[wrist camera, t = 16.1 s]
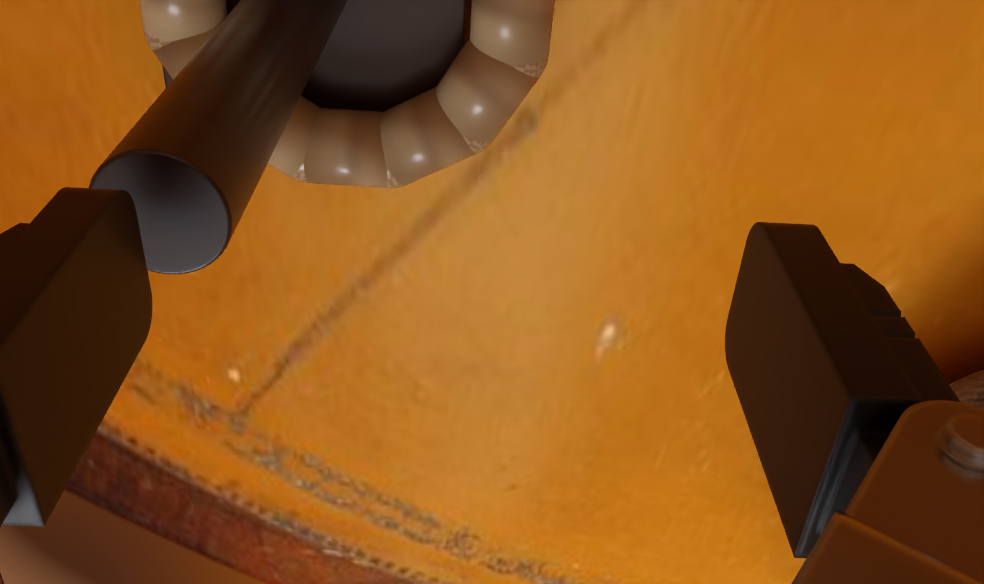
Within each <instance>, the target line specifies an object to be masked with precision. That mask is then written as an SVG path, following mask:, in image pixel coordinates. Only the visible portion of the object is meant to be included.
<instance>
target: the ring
mask: <svg viewBox="0 0 984 584" xmlns="http://www.w3.org/2000/svg"><path fill="white" fill-rule="evenodd" d="M554 2H555V0H472V9H471V26H470V37H469V39H468V40H467V42H466V43H465V45H464V46H463V48H462V49H461V51H460V52H459V54H458V55H457V57H456V58H455V60H454V61H453V63H452V64H451V66H450V67H449V69H448V70H447V72H446V73H445V75H444V76H443V78H442V79H441V81H440V82H439V84H438V85H437V87H435V88H432V89H430V90H428V91H426V92H424V93H422V94H420V95H418V96H416V97H413V98H411V99H409V100H407V101H405V102H403V103H401V104H399V105H396V106H394V107H392V108H390V109H388V110H386V111H384V112H377V111H362V110H348V109H334V108H321V107H319V106H317V105H316V104H314V103H312V102H311V101H309V100H307V99H306V98H304V97H302V96H300V98H299V100H298V102H297V104H296V107H295V109H294V111H293V113H292V115H291V117H290V119H289V121H288V123H287V125H286V127H285V129H284V131H283V133H282V135H281V137H280V139H279V141H278V143H277V145H276V147H275V149H274V151H273V153H272V155H271V157H270V159H269V162H268V165H270V166H272V167H274V168H275V169H277V170H279V171H281V172H282V173H284V174H286V175H288V176H289V177H291V178H293V179H296V180H298V181H301V182H306V183H319V184H334V185H349V186H364V187H379V188H398V187H402V186H405V185H408V184H410V183H412V182H414V181H417V180H419V179H421V178H423V177H426V176H428V175H430V174H432V173H435V172H437V171H439V170H441V169H443V168H446V167H448V166H450V165H452V164H455V163H457V162H459V161H461V160H464V159H466V158H468V157H470V156H473V155H475V154H477V153H479V152H481V151H483V150H484V149H485V148H487V147H488V146H489V145H490V144H491V142H492V141H493V140H494V139H495V137H496V136H497V135H498V133H499V132H500V131H501V129H502V128H503V127H504V125H505V124H506V122H507V121H508V120H509V118H510V117H511V116H512V114H513V113H514V112H515V110H516V109H517V107H518V106H519V105H520V103H521V102H522V101H523V99H524V98H525V97H526V95H527V94H528V92H529V91H530V90H531V88H532V87H533V86H534V84H535V83H536V81H537V80H538V79H539V77H540V76H541V74H542V73H543V71H544V69H545V67H546V65H547V61H548V56H549V48H550V39H551V29H552V20H553V11H554ZM140 7H141V14H142V21H143V28H144V34H145V37H146V39H147V42H148V44H149V46H150V47H151V49H152V50H153V52H154V53H155V55H156V56H157V57H158V59H159V60H160V62H161V63H162V65H163V66H164V67H165V69H166V70H167V72H168V73H169V75H170V76H171V77H172V79H173V80H174V78H175V77H176V76H177V75H178V74H179V72H180V71H181V70H182V69H183V68H184V67H185V65H186V64H187V63H188V62H189V61H190V59H191V58H192V57H193V56H194V55H195V54H196V52H197V51H198V50H199V49H200V48H201V46H202V45H203V44H204V43H205V42H206V41H207V39H208V38H209V37H210V36H211V35H212V33H213V32H214V31H215V30H216V29H217V28H218V26H219V25H220V24H221V23H222V22H223V21H224V19H225V18H226V17H227V16H228V15H227V4H226V0H140Z"/></svg>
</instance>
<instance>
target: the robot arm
mask: <svg viewBox="0 0 984 584" xmlns="http://www.w3.org/2000/svg"><path fill="white" fill-rule="evenodd" d="M151 318H152V293H151V287H150V282H149V277H148V271H147V266H146V261H145V255H144V250H143V245H142V239H141V234H140V229H139V223H138V218H137V213H136V208H135V204H134V201H133V199H132V197H131V195H130V194H129V193H128V192H127V191H125V190H112V189H91V188H70V187H66V188H62V189H61V190H60V191H58V192H57V194H56V195H55V196H54V197H53V198H52V199H51V200H50V201H49V203H48V204H47V205H46V206H45V207H44V208H43V209H42V211H41V212H40V213H39V214H38V215H37V216H36V217H35V218H34V220H33V221H32V222H31V223H30V224H28V223H19V224H18V225H16V226H14V227H12V228H10V229H8V230H7V231H5V232H3V233H1V234H0V527H1V525H23V526H45V524H46V522H47V520H48V518H49V516H50V515H51V513H52V511H53V509H54V507H55V506H56V504H57V502H58V500H59V498H60V496H61V495H62V493H63V491H64V489H65V487H66V485H67V484H68V482H69V480H70V478H71V476H72V474H73V473H74V471H75V469H76V467H77V465H78V463H79V462H80V460H81V458H82V456H83V454H84V452H85V451H86V449H87V447H88V445H89V443H90V441H91V440H92V438H93V436H94V434H95V432H96V430H97V429H98V427H99V425H100V423H101V421H102V419H103V418H104V416H105V414H106V412H107V410H108V408H109V407H110V405H111V403H112V401H113V399H114V397H115V396H116V394H117V392H118V390H119V388H120V386H121V385H122V383H123V381H124V379H125V377H126V375H127V374H128V372H129V370H130V368H131V366H132V364H133V363H134V361H135V359H136V357H137V355H138V353H139V352H140V350H141V348H142V346H143V344H144V342H145V340H146V338H147V336H148V333H149V329H150V325H151ZM725 353H726V361H727V365H728V369H729V372H730V375H731V377H732V380H733V383H734V386H735V389H736V392H737V395H738V397H739V400H740V403H741V406H742V409H743V412H744V415H745V417H746V420H747V423H748V426H749V429H750V432H751V435H752V437H753V440H754V443H755V446H756V449H757V452H758V455H759V457H760V460H761V463H762V466H763V469H764V472H765V475H766V477H767V480H768V483H769V486H770V489H771V492H772V495H773V497H774V500H775V503H776V506H777V509H778V512H779V515H780V517H781V520H782V523H783V526H784V529H785V532H786V535H787V537H788V540H789V543H790V546H791V549H792V552H793V555H794V557H795V558H807V559H806V560H805V562H804V564H803V565H802V567H801V569H800V570H799V572H798V574H797V575H796V577H795V579H794V580H793V582H792V584H984V409H983V408H980V407H977V406H974V405H970V404H966V403H962V402H960V400H959V399H958V397H957V396H956V394H955V393H954V391H953V390H952V388H951V387H950V385H949V384H948V382H947V381H946V379H945V378H944V376H943V374H942V373H941V371H940V370H939V368H938V367H937V365H936V364H935V362H934V361H933V359H932V358H931V356H930V355H929V353H928V352H927V350H926V349H925V347H924V346H923V344H922V343H921V341H920V340H919V339H917V338H915V332H914V331H913V329H912V328H911V326H910V325H909V323H908V322H907V320H906V319H905V317H901V311H900V310H899V308H898V307H897V305H896V304H895V302H894V301H893V299H892V298H891V296H890V295H889V293H888V292H887V290H886V289H885V287H884V286H883V285H881V284H880V283H878V282H877V281H876V280H874V279H873V278H872V277H870V276H869V275H868V274H866V273H865V272H864V271H862V270H861V269H860V268H858V267H857V266H856V265H854V264H843V263H839V261H838V259H837V258H836V256H835V254H834V253H833V251H832V249H831V248H830V246H829V245H828V243H827V241H826V240H825V238H824V236H823V235H822V233H821V232H820V230H819V229H818V227H817V226H815V225H807V224H787V223H766V222H757V223H755V224H754V225H753V226H752V228H751V230H750V232H749V234H748V237H747V241H746V245H745V249H744V253H743V257H742V261H741V266H740V270H739V274H738V278H737V282H736V286H735V290H734V294H733V299H732V303H731V307H730V311H729V315H728V319H727V325H726V333H725ZM0 584H4V582H3V579H2V576H1V573H0Z"/></svg>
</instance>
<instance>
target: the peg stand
mask: <svg viewBox="0 0 984 584" xmlns="http://www.w3.org/2000/svg"><path fill="white" fill-rule="evenodd" d="M226 4H227V15H228V16H227V17H226V18H225V19H224V21H223V22H222V23H221V24H220V25H219V26H218V28H217V29H216V30H215V31H214V32H213V33H212V35H211V36H210V37H209V38H208V39H207V41H206V42H205V43H204V44H203V45H202V46H201V48H200V49H199V50H198V51H197V52H196V54H195V55H194V56H193V57H192V58H191V59H190V61H189V62H188V63H187V64H186V65H185V67H184V68H183V69H182V70H181V71H180V72H179V74H178V75H177V76H176V77H175V78H174V80H173V79H172V77H171V76H170V75H169V73H168V72H167V70H166V69H165V67H164V66H163V65H162V66H163V72H164V79H165V85H166V89H165V90H164V91H163V92H162V94H161V95H160V96H159V97H158V98H157V100H156V101H155V102H154V103H153V104H152V105H151V107H150V108H149V109H148V110H147V111H146V113H145V114H144V115H143V116H142V117H141V118H140V120H139V121H138V122H137V123H136V124H135V126H134V127H133V128H132V129H131V130H130V131H129V133H128V134H127V135H126V136H125V137H124V139H123V140H122V141H121V142H120V143H119V144H118V146H117V147H116V148H115V149H114V150H113V151H112V153H111V154H110V155H109V156H108V157H107V159H106V160H105V161H104V162H103V163H102V164H101V166H100V167H99V168H98V169H97V171H96V172H95V174H94V175H93V177H92V179H91V182H90V185H89V188H91V189H112V190H125V191H127V192H128V193H129V194H130V195H131V197H132V199H133V201H134V204H135V208H136V213H137V218H138V223H139V229H140V234H141V239H142V245H143V250H144V255H145V261H146V266H147V270H149V271H152V272H157V273H163V274H184V273H189V272H193V271H196V270H199V269H202V268H204V267H206V266H208V265H209V264H211V263H212V262H214V261H215V260H216V259H217V258H218V257H219V256H220V255H221V254H222V253H223V252H224V250H225V249H226V247H227V245H228V243H229V241H230V239H231V237H232V235H233V233H234V231H235V229H236V227H237V225H238V223H239V221H240V219H241V217H242V214H243V212H244V210H245V208H246V206H247V204H248V202H249V200H250V198H251V196H252V194H253V192H254V190H255V188H256V186H257V184H258V182H259V180H260V178H261V176H262V174H263V172H264V170H265V168H266V166H267V164H268V162H269V159H270V157H271V155H272V153H273V151H274V149H275V147H276V145H277V143H278V141H279V139H280V137H281V135H282V133H283V131H284V129H285V127H286V125H287V123H288V121H289V119H290V117H291V115H292V113H293V111H294V109H295V107H296V104H297V102H298V100H299V98H300V96H302V97H304V98H306V99H307V100H309V101H311V102H312V103H314V104H316V105H317V106H319V107H321V108H334V109H348V110H362V111H377V112H384V111H386V110H388V109H390V108H392V107H394V106H396V105H399V104H401V103H403V102H405V101H407V100H409V99H411V98H413V97H416V96H418V95H420V94H422V93H424V92H426V91H428V90H430V89H432V88H435V87H437V85H438V84H439V82H440V81H441V79H442V78H443V76H444V75H445V73H446V72H447V70H448V69H449V67H450V66H451V64H452V63H453V61H454V60H455V58H456V57H457V55H458V54H459V52H460V51H461V49H462V48H463V46H464V45H465V42H466V15H467V0H226Z"/></svg>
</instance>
